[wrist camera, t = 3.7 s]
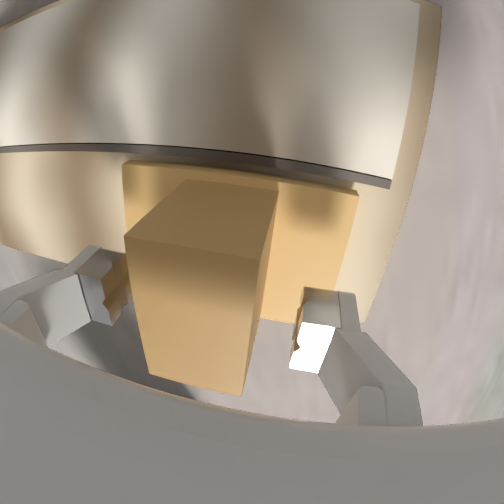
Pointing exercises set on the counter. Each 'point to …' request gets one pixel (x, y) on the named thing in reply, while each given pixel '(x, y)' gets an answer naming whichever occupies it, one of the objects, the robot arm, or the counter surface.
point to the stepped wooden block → (224, 261)
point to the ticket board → (213, 110)
